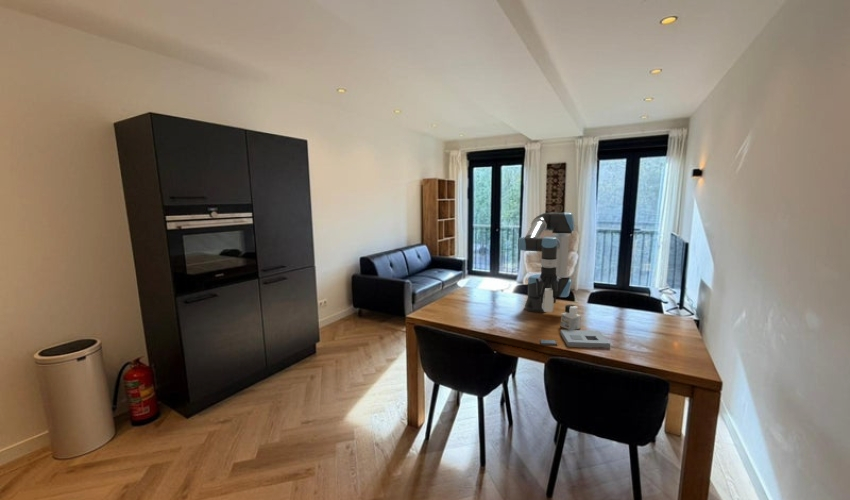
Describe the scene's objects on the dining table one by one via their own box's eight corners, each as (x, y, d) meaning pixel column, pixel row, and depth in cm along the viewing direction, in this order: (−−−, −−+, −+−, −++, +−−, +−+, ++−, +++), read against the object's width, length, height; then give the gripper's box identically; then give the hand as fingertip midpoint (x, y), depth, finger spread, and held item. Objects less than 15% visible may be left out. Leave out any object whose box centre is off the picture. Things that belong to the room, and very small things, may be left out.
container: (560, 326, 201) (561, 304, 199) (570, 323, 203) (571, 302, 201) (570, 330, 194) (571, 308, 192) (580, 328, 196) (582, 306, 194)
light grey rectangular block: (543, 309, 188) (543, 288, 185) (550, 309, 187) (551, 288, 185) (544, 311, 184) (544, 290, 182) (552, 312, 183) (552, 290, 181)
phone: (539, 341, 181) (539, 339, 181) (555, 341, 180) (555, 340, 179) (541, 344, 177) (541, 343, 176) (557, 345, 175) (557, 343, 175)
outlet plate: (560, 333, 189) (560, 329, 189) (598, 335, 186) (599, 330, 186) (567, 346, 174) (568, 341, 173) (610, 348, 171) (610, 343, 170)
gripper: (533, 268, 179) (532, 310, 183) (567, 268, 176) (565, 311, 180) (530, 264, 186) (530, 306, 190) (563, 264, 183) (562, 306, 187)
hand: (547, 308), depth 185 cm, fingers closed on light grey rectangular block, 4 cm apart
